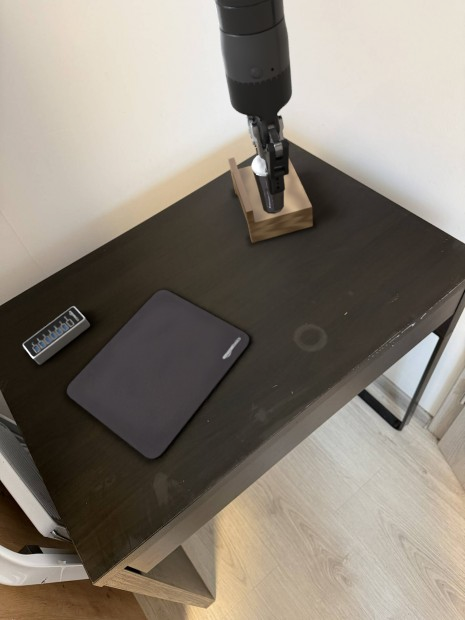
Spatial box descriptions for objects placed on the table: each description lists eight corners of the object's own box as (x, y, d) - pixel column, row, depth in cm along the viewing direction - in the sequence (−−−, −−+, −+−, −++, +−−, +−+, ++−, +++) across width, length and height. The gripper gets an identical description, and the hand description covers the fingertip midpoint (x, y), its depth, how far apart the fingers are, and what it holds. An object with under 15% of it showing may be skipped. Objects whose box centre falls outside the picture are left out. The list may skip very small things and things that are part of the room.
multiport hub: (28, 350, 84) (21, 344, 82) (78, 312, 87) (73, 305, 86) (39, 365, 82) (32, 359, 80) (91, 325, 85) (85, 318, 83)
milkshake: (276, 224, 70) (269, 170, 62) (252, 208, 73) (242, 154, 64) (298, 207, 71) (294, 152, 63) (274, 191, 74) (267, 137, 66)
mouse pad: (154, 464, 68) (154, 463, 68) (62, 391, 78) (62, 391, 78) (253, 337, 78) (253, 337, 78) (161, 287, 87) (161, 286, 87)
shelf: (289, 175, 100) (286, 142, 93) (313, 226, 90) (311, 194, 84) (234, 190, 100) (228, 158, 93) (252, 243, 90) (246, 212, 84)
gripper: (308, 82, 50) (313, 204, 63) (271, 26, 58) (282, 144, 72) (239, 102, 50) (259, 220, 63) (212, 43, 58) (235, 157, 72)
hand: (271, 179), depth 68 cm, fingers closed on milkshake, 5 cm apart
